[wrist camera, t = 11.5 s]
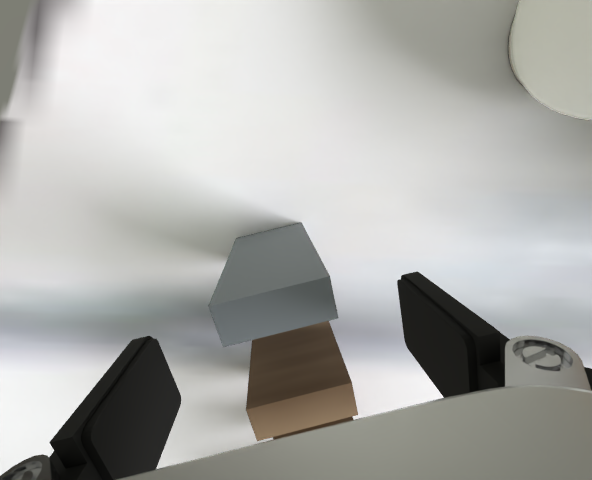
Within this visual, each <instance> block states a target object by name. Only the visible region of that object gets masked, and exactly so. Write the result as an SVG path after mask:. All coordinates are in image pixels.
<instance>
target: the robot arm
mask: <svg viewBox="0 0 592 480" xmlns="http://www.w3.org/2000/svg"><path fill="white" fill-rule="evenodd" d="M397 284H398V292H399V300H400V308H401V315H402V323H403V331H404V339H405V343H406V345H407V348H408V349H409V351H410V352H411V353H412V355H413V356H414V357H415V359H416V360H417V362H418V363H419V364H420V366H421V367H422V368H423V370H424V371H425V372H426V374H427V375H428V376H429V378H430V379H431V381H432V382H433V383H434V385H435V386H436V387H437V389H438V390H439V391H440V393H441V394H442V395H443V397H444V398H441V399H437V400H433V401H429V402H425V403H421V404H417V405H413V406H409V407H405V408H400V409H396V410H392V411H388V412H384V413H380V414H376V415H372V416H368V417H363V418H359V419H355V420H351V421H347V422H343V423H339V424H335V425H331V426H327V427H323V428H319V429H315V430H311V431H307V432H303V433H299V434H295V435H291V436H287V437H283V438H279V439H275V440H271V441H267V442H263V443H259V444H255V445H251V446H247V447H243V448H239V449H235V450H231V451H227V452H223V453H219V454H215V455H211V456H207V457H203V458H199V459H195V460H191V461H187V462H183V463H179V464H175V465H171V466H168V467H164V468H160V469H156V467H157V465H158V462H159V459H160V457H161V454H162V452H163V449H164V446H165V444H166V441H167V439H168V436H169V433H170V431H171V428H172V426H173V423H174V421H175V418H176V415H177V413H178V410H179V408H180V404H181V395H180V393H179V390H178V388H177V385H176V383H175V381H174V378H173V376H172V373H171V371H170V369H169V366H168V364H167V362H166V359H165V357H164V354H163V352H162V350H161V347H160V345H159V342H158V341H157V339H153V338H152V337H151V336H146V337H142V338H138V339H134V340H132V341H131V342H130V343H129V344H128V346H127V347H126V348H125V349H124V351H123V352H122V353H121V354H120V356H119V357H118V358H117V359H116V361H115V362H114V363H113V364H112V366H111V367H110V368H109V369H108V371H107V372H106V373H105V374H104V376H103V377H102V378H101V379H100V380H99V382H98V383H97V384H96V385H95V387H94V388H93V389H92V390H91V392H90V393H89V394H88V395H87V397H86V398H85V399H84V400H83V402H82V403H81V404H80V405H79V407H78V408H77V409H76V410H75V412H74V413H73V414H72V415H71V416H70V418H69V419H68V420H67V421H66V423H65V424H64V425H63V426H62V428H61V429H60V430H59V431H58V433H57V434H56V435H55V436H54V438H53V439H52V440H51V441H50V444H51V446H52V447H53V449H54V452H53V453H52V455H51V456H50V457H48V456H46V455H37V456H33V457H31V458H28V459H26V460H24V461H22V462H20V463H18V464H17V465H15V466H13V467H12V468H11V469H9V470H8V471H6V472H5V473H4V474H2V475H1V476H0V480H592V369H590V368H586V367H584V366H583V363H582V360H581V359H580V357H579V356H578V354H576V353H575V352H574V351H573V350H572V349H571V348H569V347H567V346H565V345H563V344H561V343H559V342H556V341H554V340H551V339H547V338H543V337H538V336H518V337H515V338H512V339H508V338H507V337H506V336H504V335H503V334H501V333H500V332H499V331H498V330H497V329H495V328H494V327H493V326H491V325H490V324H489V323H487V322H486V321H484V320H483V319H482V318H480V317H479V316H478V315H476V314H475V313H473V312H472V311H471V310H469V309H468V308H467V307H465V306H464V305H463V304H461V303H460V302H458V301H457V300H456V299H454V298H453V297H452V296H450V295H449V294H448V293H446V292H445V291H443V290H442V289H441V288H439V287H438V286H437V285H435V284H434V283H433V282H431V281H430V280H428V279H427V278H426V277H424V276H423V275H422V274H420V273H419V272H413V273H409V274H405V275H402V276H401V279H400V280H398V282H397Z"/></svg>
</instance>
